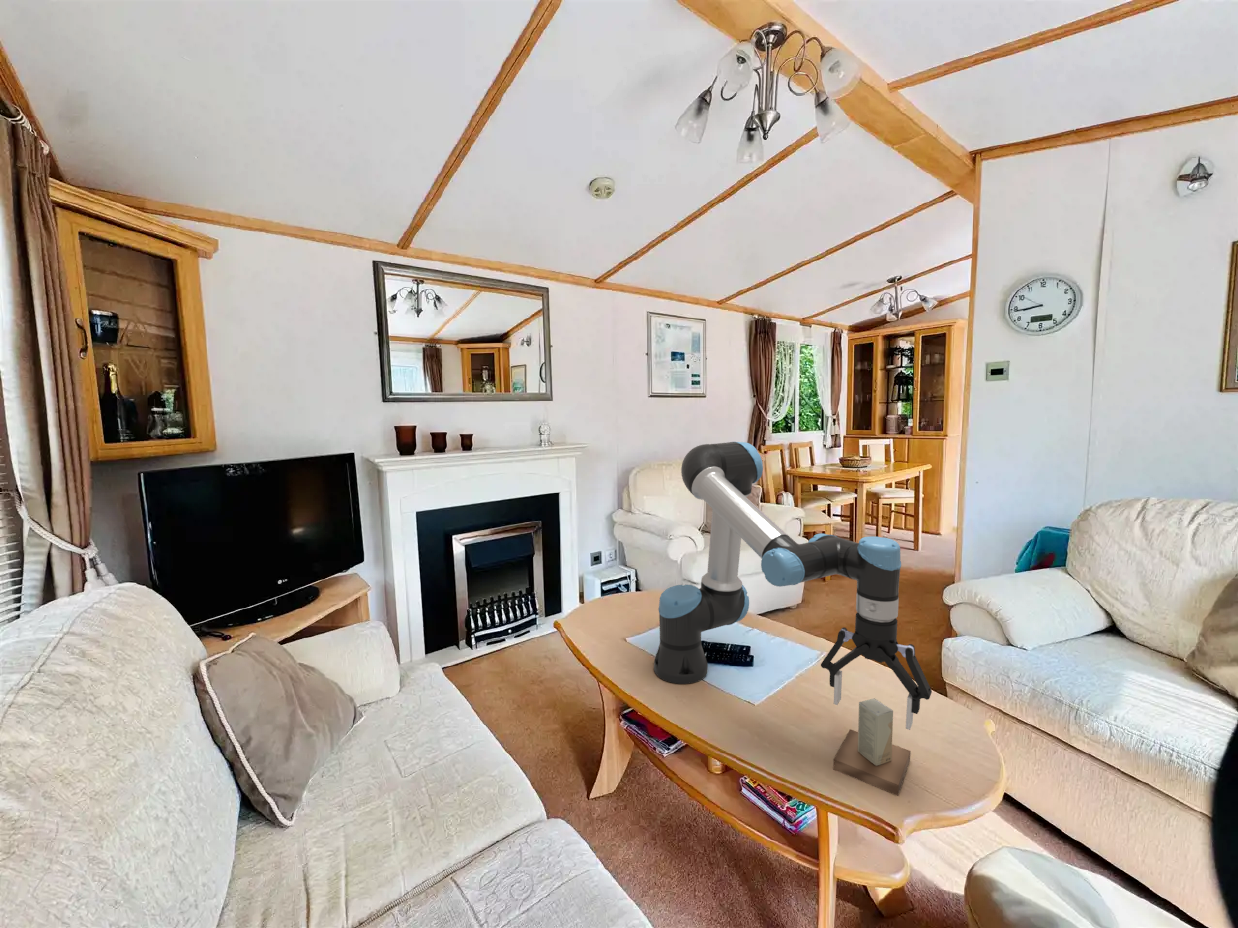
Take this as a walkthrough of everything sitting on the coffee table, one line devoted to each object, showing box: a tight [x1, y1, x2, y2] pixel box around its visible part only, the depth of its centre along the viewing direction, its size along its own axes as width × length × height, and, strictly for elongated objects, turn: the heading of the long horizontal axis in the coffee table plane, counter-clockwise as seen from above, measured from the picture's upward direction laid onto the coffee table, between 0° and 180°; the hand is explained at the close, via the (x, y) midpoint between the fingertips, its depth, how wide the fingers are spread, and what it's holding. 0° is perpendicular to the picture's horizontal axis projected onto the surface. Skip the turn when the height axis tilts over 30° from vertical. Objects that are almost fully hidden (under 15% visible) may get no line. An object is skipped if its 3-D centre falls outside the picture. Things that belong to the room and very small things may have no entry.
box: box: [857, 697, 894, 766], centre depth 106 cm, size 5×4×11 cm
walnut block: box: [832, 728, 912, 797], centre depth 108 cm, size 12×12×3 cm
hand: (871, 713), depth 107 cm, fingers open, 13 cm apart
